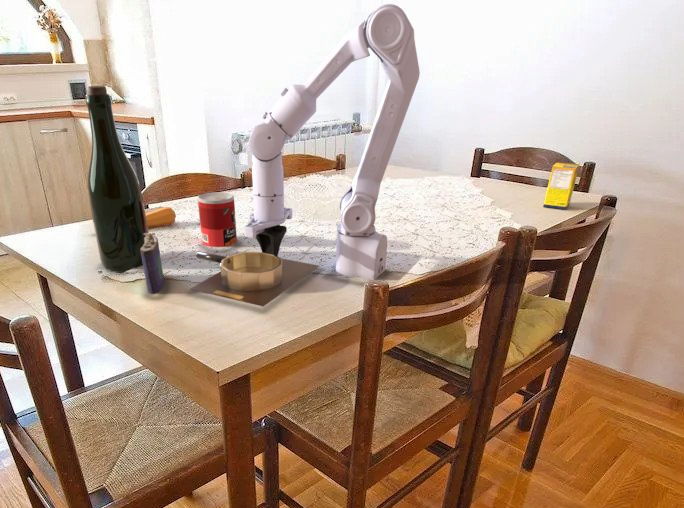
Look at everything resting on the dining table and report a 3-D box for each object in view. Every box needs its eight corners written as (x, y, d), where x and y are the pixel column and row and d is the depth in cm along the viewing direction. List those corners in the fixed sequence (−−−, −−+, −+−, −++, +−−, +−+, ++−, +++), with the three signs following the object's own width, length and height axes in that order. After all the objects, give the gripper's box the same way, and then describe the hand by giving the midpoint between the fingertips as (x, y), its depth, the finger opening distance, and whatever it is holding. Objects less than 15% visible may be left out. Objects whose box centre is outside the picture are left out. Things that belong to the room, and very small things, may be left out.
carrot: (175, 224, 137) (169, 206, 136) (179, 221, 133) (173, 203, 132) (98, 244, 130) (92, 225, 129) (100, 242, 126) (93, 223, 125)
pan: (292, 275, 103) (292, 257, 101) (261, 296, 94) (261, 277, 92) (214, 259, 110) (213, 242, 109) (179, 277, 102) (177, 260, 100)
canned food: (231, 252, 117) (228, 201, 111) (197, 250, 118) (192, 199, 112) (241, 241, 123) (238, 192, 117) (208, 239, 125) (204, 191, 119)
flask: (151, 279, 104) (142, 225, 98) (166, 279, 104) (159, 224, 98) (147, 299, 96) (137, 241, 90) (163, 298, 96) (155, 240, 91)
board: (319, 270, 108) (319, 265, 107) (263, 311, 91) (262, 306, 91) (253, 257, 114) (253, 252, 114) (189, 293, 98) (188, 288, 97)
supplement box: (569, 205, 148) (580, 163, 142) (565, 210, 144) (577, 167, 138) (546, 202, 151) (556, 161, 145) (542, 207, 146) (552, 165, 140)
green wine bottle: (119, 277, 105) (83, 89, 87) (92, 265, 111) (53, 86, 93) (163, 263, 111) (138, 85, 94) (135, 252, 117) (106, 83, 100)
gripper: (270, 183, 105) (272, 249, 112) (228, 199, 94) (233, 271, 102) (301, 186, 102) (301, 254, 109) (261, 204, 91) (264, 278, 99)
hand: (270, 263), depth 105 cm, fingers closed
